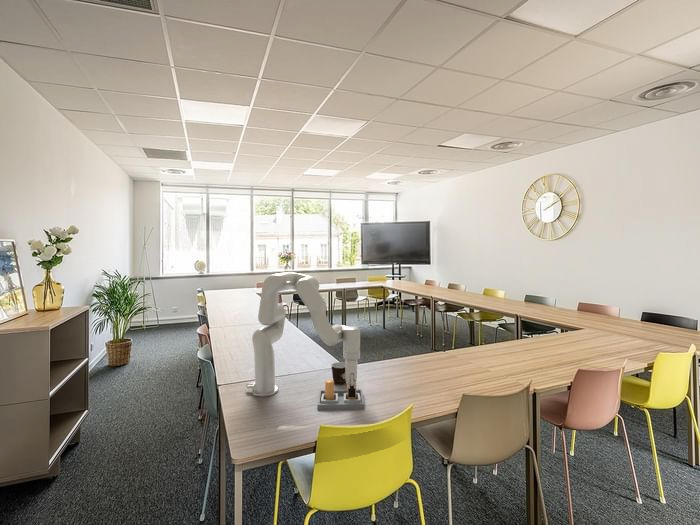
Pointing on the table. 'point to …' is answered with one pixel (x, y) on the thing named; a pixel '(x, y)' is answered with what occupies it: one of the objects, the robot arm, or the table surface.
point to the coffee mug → (338, 373)
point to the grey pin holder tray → (340, 400)
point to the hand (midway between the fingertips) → (351, 394)
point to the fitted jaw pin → (329, 390)
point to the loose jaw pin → (347, 391)
